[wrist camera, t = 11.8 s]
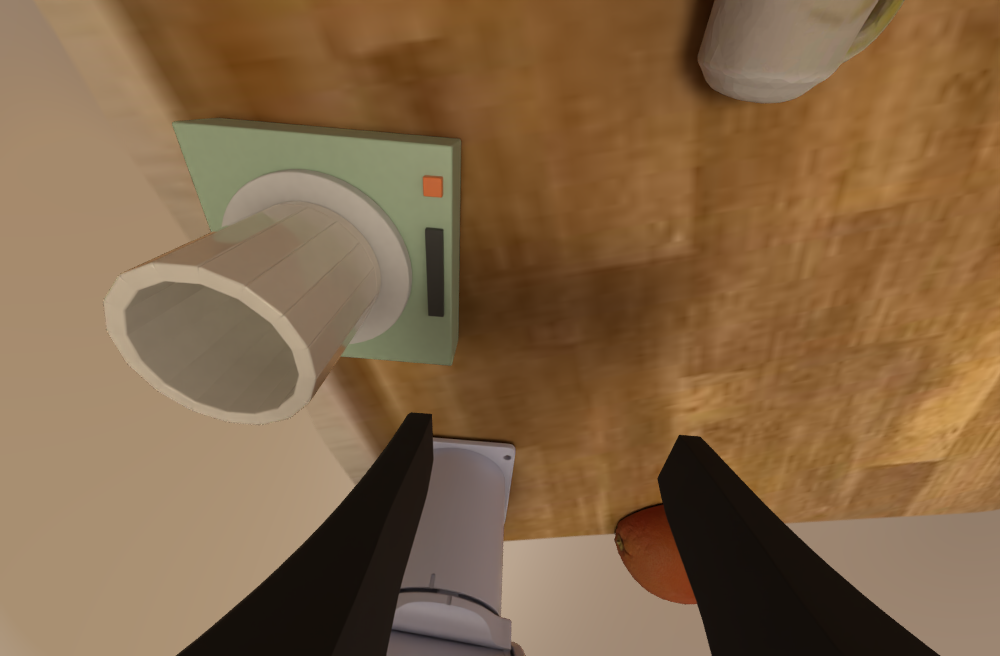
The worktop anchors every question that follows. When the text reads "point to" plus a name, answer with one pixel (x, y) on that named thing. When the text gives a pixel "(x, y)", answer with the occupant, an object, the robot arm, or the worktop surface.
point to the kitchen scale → (352, 213)
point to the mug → (785, 43)
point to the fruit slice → (653, 555)
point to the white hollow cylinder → (247, 312)
